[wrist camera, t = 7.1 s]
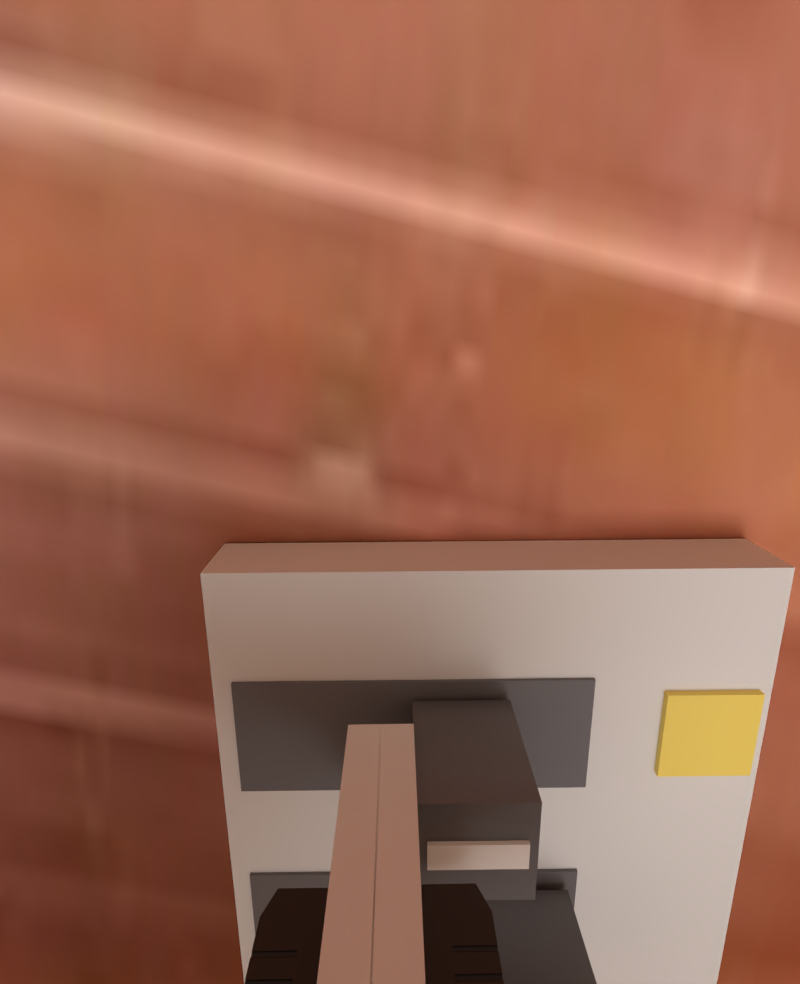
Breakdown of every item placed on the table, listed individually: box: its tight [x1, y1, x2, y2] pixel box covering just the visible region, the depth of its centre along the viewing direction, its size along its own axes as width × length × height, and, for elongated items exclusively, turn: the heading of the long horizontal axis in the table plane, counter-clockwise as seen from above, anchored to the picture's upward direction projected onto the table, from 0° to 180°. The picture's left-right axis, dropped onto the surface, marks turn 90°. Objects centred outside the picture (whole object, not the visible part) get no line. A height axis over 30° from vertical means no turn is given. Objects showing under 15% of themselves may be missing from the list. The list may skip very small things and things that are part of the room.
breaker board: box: [200, 539, 795, 984], centre depth 16 cm, size 14×15×2 cm
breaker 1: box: [412, 700, 542, 900], centre depth 13 cm, size 2×2×3 cm
